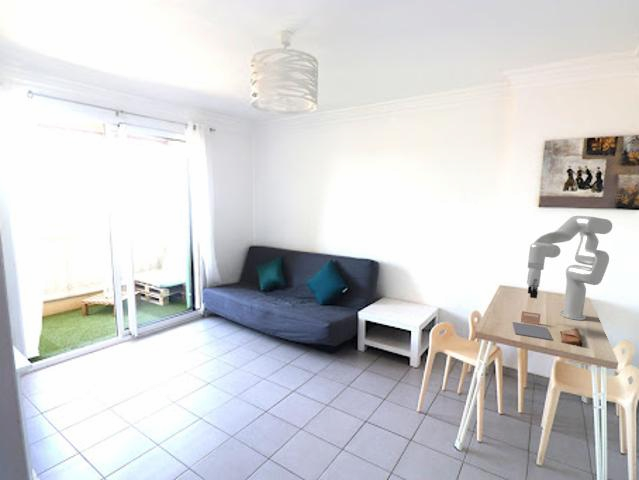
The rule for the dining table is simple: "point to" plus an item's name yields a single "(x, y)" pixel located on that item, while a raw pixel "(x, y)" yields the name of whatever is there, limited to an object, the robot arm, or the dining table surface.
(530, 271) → the robot arm
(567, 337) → the sunglasses case
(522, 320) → the slab
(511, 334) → the dining table surface
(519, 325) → the mat
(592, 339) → the dining table surface
